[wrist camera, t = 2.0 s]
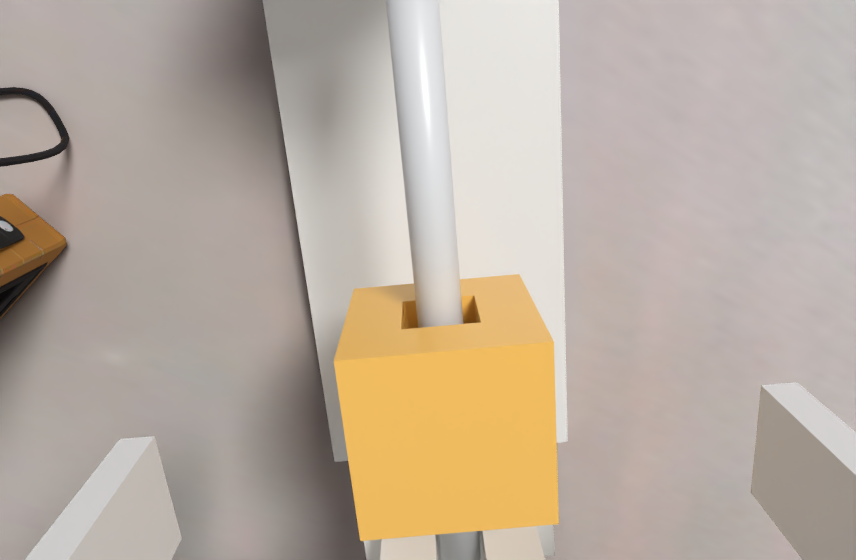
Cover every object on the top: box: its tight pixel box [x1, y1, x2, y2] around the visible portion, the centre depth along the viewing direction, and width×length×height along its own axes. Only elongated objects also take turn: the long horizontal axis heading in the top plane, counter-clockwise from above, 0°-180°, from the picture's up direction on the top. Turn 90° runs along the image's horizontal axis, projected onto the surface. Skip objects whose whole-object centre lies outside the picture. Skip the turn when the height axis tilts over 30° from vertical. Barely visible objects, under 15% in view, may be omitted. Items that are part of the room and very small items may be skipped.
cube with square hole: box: [334, 274, 559, 541], centre depth 17 cm, size 5×5×5 cm
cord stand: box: [263, 0, 567, 560], centre depth 19 cm, size 24×10×12 cm, turn 5°
